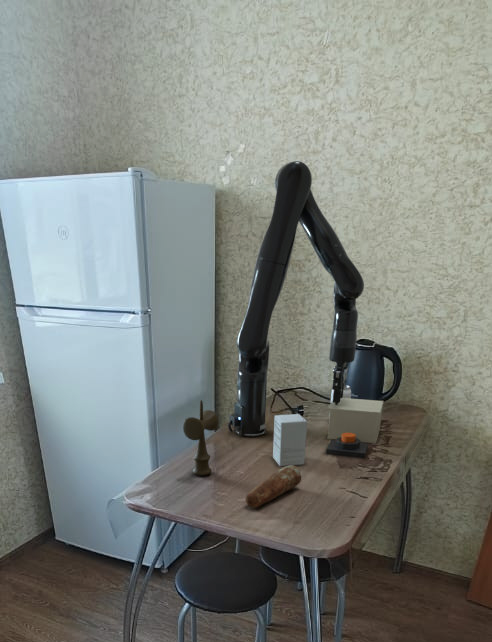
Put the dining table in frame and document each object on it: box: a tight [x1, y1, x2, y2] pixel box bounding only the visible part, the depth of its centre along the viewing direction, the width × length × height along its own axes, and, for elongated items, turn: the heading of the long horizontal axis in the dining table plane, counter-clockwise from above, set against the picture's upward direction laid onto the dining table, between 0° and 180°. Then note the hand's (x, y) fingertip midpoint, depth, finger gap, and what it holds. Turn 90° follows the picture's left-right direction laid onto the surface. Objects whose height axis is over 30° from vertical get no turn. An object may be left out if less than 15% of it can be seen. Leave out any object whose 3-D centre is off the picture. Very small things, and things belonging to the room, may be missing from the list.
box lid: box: [326, 390, 384, 415], centre depth 179 cm, size 16×14×5 cm
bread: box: [245, 465, 302, 509], centre depth 140 cm, size 6×19×6 cm, turn 140°
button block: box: [325, 437, 369, 459], centre depth 169 cm, size 11×9×4 cm
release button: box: [341, 433, 356, 443], centre depth 168 cm, size 4×4×2 cm
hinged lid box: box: [327, 405, 384, 444], centre depth 182 cm, size 15×14×9 cm
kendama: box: [182, 399, 220, 477], centre depth 150 cm, size 6×10×20 cm, turn 150°
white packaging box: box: [272, 413, 308, 467], centre depth 160 cm, size 7×7×13 cm
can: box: [328, 384, 352, 418], centre depth 194 cm, size 6×6×12 cm
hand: (337, 399), depth 181 cm, fingers closed on box lid, 5 cm apart
